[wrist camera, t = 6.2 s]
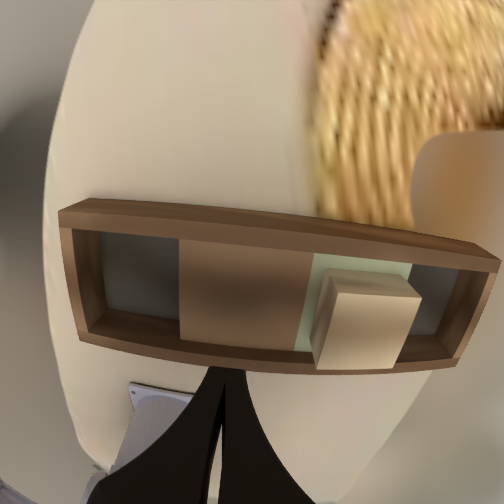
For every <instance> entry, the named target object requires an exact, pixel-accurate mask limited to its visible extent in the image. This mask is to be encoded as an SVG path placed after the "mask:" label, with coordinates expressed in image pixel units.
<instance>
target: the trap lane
mask: <svg viewBox="0 0 504 504" xmlns="http://www.w3.org/2000/svg"><path fill="white" fill-rule="evenodd" d="M58 220H59V231H60V240H61V249H62V256H63V263H64V270H65V276H66V282H67V287H68V292H69V298H70V302H71V307H72V311H73V316H74V320H75V324H76V328H77V332H78V336H79V340H80V341H83V342H86V343H90V344H94V345H98V346H102V347H106V348H110V349H114V350H119V351H123V352H127V353H132V354H137V355H142V356H147V357H152V358H157V359H163V360H168V361H174V362H180V363H187V364H193V365H200V366H208V367H210V366H219V367H227V368H236V369H243V370H244V371H254V372H267V373H283V374H306V375H364V374H387V373H402V372H415V371H425V370H434V369H443V368H450V367H455V366H456V365H457V363H458V361H459V359H460V357H461V355H462V353H463V351H464V350H465V348H466V346H467V344H468V342H469V340H470V338H471V336H472V334H473V332H474V330H475V328H476V326H477V323H478V321H479V319H480V317H481V314H482V312H483V310H484V307H485V305H486V303H487V300H488V297H489V295H490V292H491V290H492V287H493V285H494V282H495V279H496V276H497V273H498V270H499V267H500V264H501V260H500V259H499V258H497V257H496V256H494V255H492V254H491V253H489V252H488V251H486V250H484V249H482V248H481V247H479V246H478V245H476V244H474V243H471V242H466V241H460V240H455V239H450V238H444V237H439V236H433V235H428V234H421V233H416V232H410V231H404V230H398V229H391V228H385V227H379V226H372V225H365V224H358V223H351V222H344V221H337V220H330V219H322V218H314V217H306V216H298V215H290V214H281V213H272V212H263V211H254V210H244V209H234V208H224V207H213V206H201V205H190V204H177V203H163V202H149V201H133V200H115V199H94V198H88V199H86V200H83V201H81V202H78V203H76V204H73V205H71V206H68V207H66V208H64V209H61V210H59V211H58ZM326 268H335V269H345V270H356V271H366V272H377V273H388V274H399V275H401V276H402V277H403V278H404V279H405V280H406V281H407V282H408V283H409V284H410V285H411V286H412V288H413V289H414V290H415V291H416V292H417V293H418V294H419V295H420V296H421V297H422V300H421V302H420V305H419V308H418V310H417V313H416V316H415V318H414V321H413V323H412V326H411V328H410V330H409V333H408V335H407V337H406V340H405V342H404V344H403V347H402V349H401V351H400V353H399V355H398V357H397V360H396V362H395V364H394V366H393V368H388V369H360V370H320V369H316V366H315V362H314V357H313V353H312V348H311V344H310V340H309V337H310V333H311V329H312V325H313V321H314V317H315V313H316V309H317V305H318V300H319V296H320V292H321V287H322V283H323V278H324V274H325V269H326Z"/></svg>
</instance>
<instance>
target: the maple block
mask: <svg viewBox="0 0 504 504" xmlns="http://www.w3.org/2000/svg"><path fill="white" fill-rule="evenodd" d="M421 300H422V297H421V296H420V295H419V294H418V293H417V292H416V291H415V290H414V289H413V288H412V286H411V285H410V284H409V283H408V282H407V281H406V280H405V279H404V278H403V277H402V276H401V275H399V274H388V273H377V272H366V271H356V270H345V269H335V268H326V269H325V274H324V278H323V283H322V287H321V292H320V296H319V300H318V305H317V309H316V313H315V317H314V321H313V325H312V329H311V333H310V337H309V340H310V344H311V348H312V353H313V357H314V362H315V366H316V369H320V370H360V369H388V368H393V366H394V364H395V362H396V360H397V357H398V355H399V353H400V351H401V349H402V347H403V344H404V342H405V340H406V337H407V335H408V333H409V330H410V328H411V326H412V323H413V321H414V318H415V316H416V313H417V310H418V308H419V305H420V302H421Z"/></svg>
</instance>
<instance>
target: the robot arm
mask: <svg viewBox="0 0 504 504" xmlns="http://www.w3.org/2000/svg"><path fill="white" fill-rule="evenodd" d="M128 390H129V394H130V397H131V401H132V404H133V408H134V411H135V412H134V414H133V417H132V419H131V422H130V424H129V427H128V429H127V432H126V435H125V437H124V440H123V442H122V445H121V448H120V450H119V453H118V456H117V459H116V461H115V464H114V465H112V466H111V469H110V471H109V474H108V472H105V471H103V470H100V471H99V472H95V473H93V474H92V476H91V477H90V479H89V481H88V484H87V486H86V488H85V491H84V494H83V496H82V499H81V502H80V504H207V499H208V490H209V482H210V474H211V468H212V463H213V459H214V455H215V450H216V446H217V442H218V438H219V433H220V429H221V424H222V470H221V479H220V488H219V497H218V504H316V503H314V502H313V501H312V500H311V498H310V497H309V496H308V495H307V494H306V493H305V492H304V491H303V490H302V489H301V488H300V486H299V485H298V484H297V483H296V482H295V480H294V479H293V478H292V476H291V475H290V474H289V472H288V471H287V470H286V468H285V467H284V466H283V464H282V463H281V461H280V460H279V458H278V457H277V455H276V453H275V452H274V450H273V448H272V446H271V445H270V443H269V441H268V439H267V437H266V435H265V433H264V431H263V429H262V427H261V424H260V422H259V420H258V417H257V415H256V412H255V409H254V406H253V404H252V400H251V397H250V393H249V390H248V385H247V380H246V371H244V370H243V369H236V368H227V367H219V366H210V367H209V368H208V371H207V373H206V375H205V377H204V379H203V381H202V383H201V385H200V386H199V388H198V390H197V391H196V393H195V394H194V395H190V394H184V393H178V392H172V391H167V390H162V389H157V388H152V387H147V386H142V385H138V384H134V383H130V384H129V386H128ZM107 474H108V476H107ZM0 504H37V503H35V502H34V501H32V500H30V499H29V498H27V497H26V496H24V495H22V494H21V493H19V492H18V491H16V490H15V489H13V488H12V487H10V486H9V485H7V484H6V483H5V482H3V480H2V479H1V478H0Z"/></svg>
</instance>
